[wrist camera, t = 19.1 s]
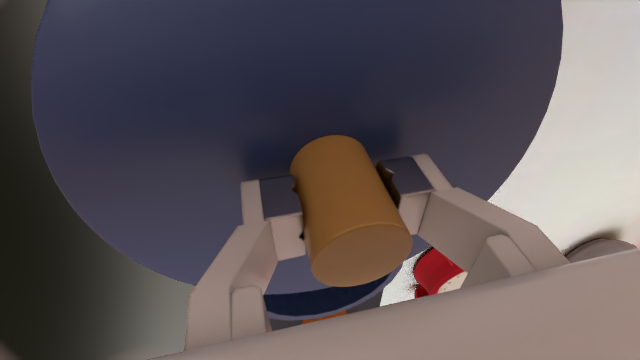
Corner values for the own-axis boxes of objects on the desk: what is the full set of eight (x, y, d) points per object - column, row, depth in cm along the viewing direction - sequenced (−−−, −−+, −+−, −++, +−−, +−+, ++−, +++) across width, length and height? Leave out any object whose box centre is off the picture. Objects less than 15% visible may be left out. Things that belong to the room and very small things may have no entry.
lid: (-162, -179, 5) (-910, -288, 2) (646, -172, 7) (1001, -214, 4) (164, 298, 15) (149, 416, 12) (459, 239, 18) (515, 324, 14)
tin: (221, 188, 26) (222, 243, 22) (390, 159, 28) (419, 205, 24) (249, 283, 35) (254, 333, 31) (374, 256, 38) (392, 300, 34)
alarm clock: (524, 242, 36) (499, 328, 44) (487, 210, 41) (470, 292, 49) (437, 263, 35) (427, 349, 42) (410, 228, 40) (405, 309, 47)
